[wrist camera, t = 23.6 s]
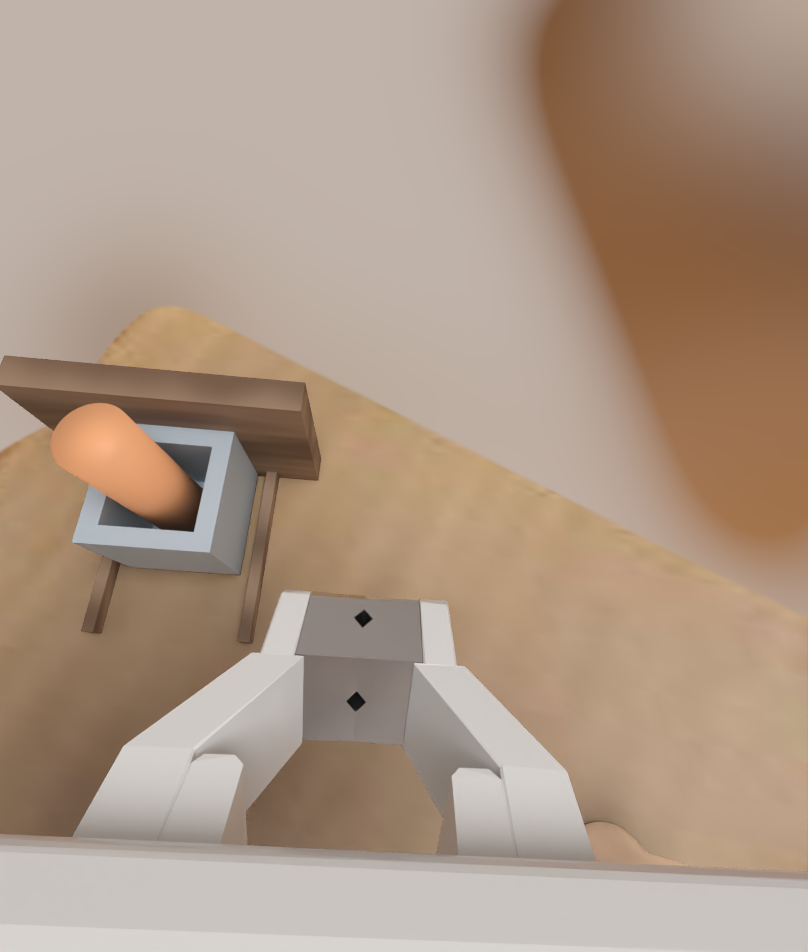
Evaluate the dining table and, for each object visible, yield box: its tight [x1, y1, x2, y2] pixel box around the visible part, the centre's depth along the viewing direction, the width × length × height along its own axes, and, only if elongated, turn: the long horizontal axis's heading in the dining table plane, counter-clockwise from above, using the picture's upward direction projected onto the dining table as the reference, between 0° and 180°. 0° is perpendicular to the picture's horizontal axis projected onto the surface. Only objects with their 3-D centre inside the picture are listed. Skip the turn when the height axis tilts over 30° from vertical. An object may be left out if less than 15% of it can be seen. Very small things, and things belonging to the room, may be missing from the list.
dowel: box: [50, 403, 203, 532], centre depth 32 cm, size 4×4×14 cm
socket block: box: [72, 424, 258, 575], centre depth 35 cm, size 8×8×8 cm
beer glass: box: [584, 822, 689, 866], centre depth 26 cm, size 7×7×15 cm
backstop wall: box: [0, 356, 321, 643], centre depth 33 cm, size 15×18×12 cm
